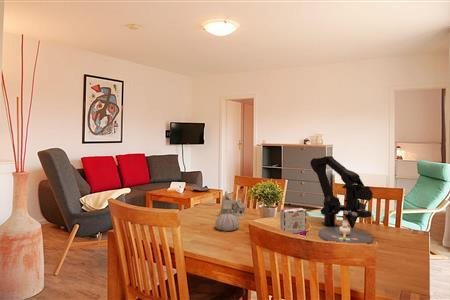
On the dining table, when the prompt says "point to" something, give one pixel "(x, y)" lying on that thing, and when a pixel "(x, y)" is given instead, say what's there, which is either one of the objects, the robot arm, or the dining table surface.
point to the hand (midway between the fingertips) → (352, 227)
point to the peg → (344, 229)
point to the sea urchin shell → (227, 222)
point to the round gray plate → (354, 236)
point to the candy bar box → (293, 221)
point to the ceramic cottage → (232, 206)
